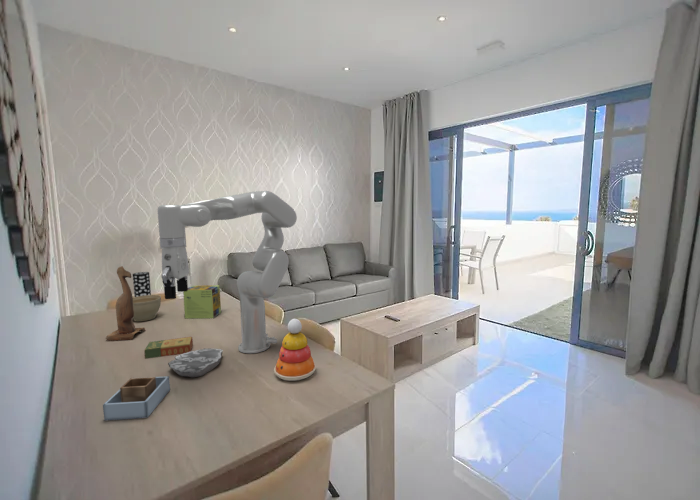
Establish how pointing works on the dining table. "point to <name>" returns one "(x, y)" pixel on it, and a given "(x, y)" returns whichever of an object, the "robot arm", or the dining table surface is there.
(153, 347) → the carton
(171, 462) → the dining table surface
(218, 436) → the dining table surface
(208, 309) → the protein box
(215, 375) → the dining table surface
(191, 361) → the brain slice
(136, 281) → the spotted tube
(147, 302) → the planter bowl
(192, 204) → the robot arm
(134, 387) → the walnut crate
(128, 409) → the blue tray
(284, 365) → the stacking toy
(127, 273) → the bird sculpture
